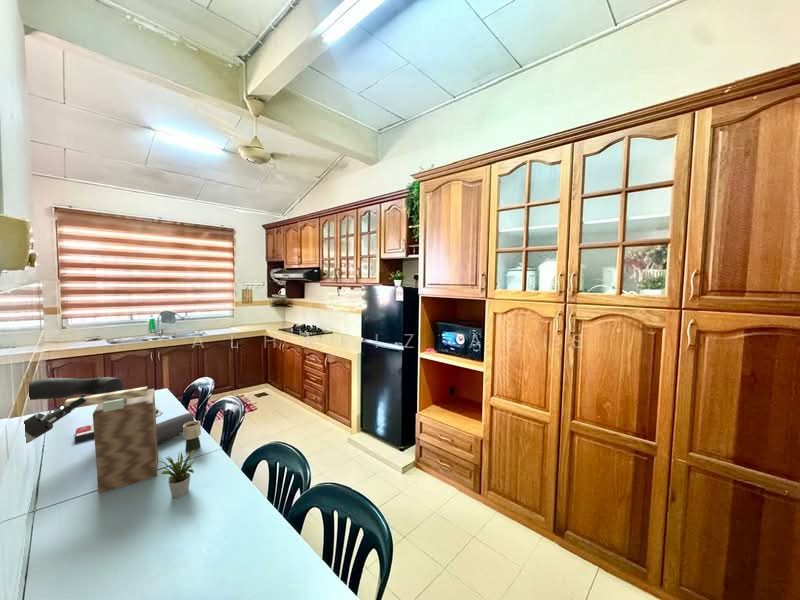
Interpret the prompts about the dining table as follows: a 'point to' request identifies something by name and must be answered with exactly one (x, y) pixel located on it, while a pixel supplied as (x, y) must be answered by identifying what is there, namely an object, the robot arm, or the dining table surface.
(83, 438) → the red and black block
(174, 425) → the bluetooth speaker
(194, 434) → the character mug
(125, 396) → the maple plank
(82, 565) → the dining table surface
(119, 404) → the pale green blocks
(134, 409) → the walnut stand
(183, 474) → the house plant
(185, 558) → the dining table surface
